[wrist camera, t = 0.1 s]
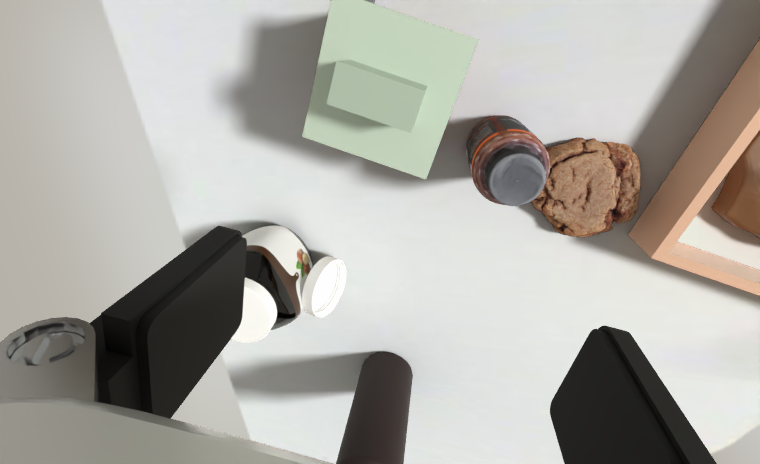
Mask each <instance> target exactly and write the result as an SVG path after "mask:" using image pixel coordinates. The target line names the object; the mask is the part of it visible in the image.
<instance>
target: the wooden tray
mask: <svg viewBox="0 0 760 464" xmlns="http://www.w3.org/2000/svg"><path fill="white" fill-rule="evenodd" d="M759 130H760V39H759V41H758V42H757V44H756V45H755V47H754V48H753V50H752V51H751V53H750V54H749V56H748V57H747V59H746V60H745V62H744V63H743V65H742V66H741V67H740V69H739V70H738V72H737V73H736V75H735V76H734V78H733V79H732V81H731V82H730V84H729V85H728V87H727V88H726V90H725V91H724V93H723V94H722V96H721V97H720V99H719V100H718V102H717V103H716V105H715V106H714V108H713V109H712V111H711V112H710V114H709V115H708V117H707V118H706V120H705V121H704V123H703V124H702V125H701V127H700V128H699V130H698V131H697V133H696V134H695V136H694V137H693V139H692V140H691V142H690V143H689V145H688V146H687V148H686V149H685V151H684V152H683V154H682V155H681V157H680V158H679V160H678V161H677V163H676V164H675V166H674V167H673V169H672V170H671V172H670V173H669V175H668V176H667V178H666V179H665V181H664V182H663V183H662V185H661V186H660V188H659V189H658V191H657V192H656V194H655V195H654V197H653V198H652V200H651V201H650V203H649V204H648V206H647V207H646V209H645V210H644V212H643V213H642V215H641V216H640V218H639V219H638V221H637V222H636V224H635V225H634V227H633V228H632V230H631V231H630V233H629V234H628V236H629V237H630V238H631V239H632V240H633V241H634V242H635V243H636V244H637V245H638V246H639V247H640V248H641V249H642V250H643V251H644V252H645V253H646V254H647V255H648V256H649V257H650V258H652V259H655V260H658V261H661V262H663V263H666V264H669V265H672V266H675V267H678V268H681V269H684V270H687V271H689V272H692V273H695V274H698V275H701V276H704V277H707V278H710V279H713V280H715V281H718V282H721V283H724V284H727V285H730V286H733V287H736V288H739V289H741V290H744V291H747V292H750V293H753V294H756V295H759V296H760V270H758V269H755V268H752V267H749V266H746V265H743V264H741V263H738V262H735V261H732V260H729V259H726V258H723V257H720V256H717V255H715V254H712V253H709V252H706V251H703V250H700V249H697V248H694V247H691V246H688V245H686V244H683V243H680V242H677V240H678V239H679V238H680V236H681V235H682V234H683V232H684V231H685V230H686V228H687V227H688V226H689V224H690V223H691V221H692V220H693V219H694V217H695V216H696V215H697V213H698V212H699V211H700V209H701V208H702V207H703V205H704V204H705V203H706V201H707V200H708V199H709V197H710V196H711V195H712V193H713V192H714V191H715V189H716V188H717V187H718V185H719V184H720V182H721V181H722V180H723V178H724V177H725V176H726V174H727V173H728V172H729V170H730V169H731V168H732V166H733V165H734V164H735V162H736V161H737V160H738V158H739V157H740V156H741V154H742V153H743V152H744V150H745V149H746V147H747V146H748V145H749V143H750V142H751V141H752V139H753V138H754V137H755V135H756V134H757V133H758V131H759Z"/></svg>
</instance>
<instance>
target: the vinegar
mask: <svg viewBox="0 0 760 464" xmlns="http://www.w3.org/2000/svg"><path fill="white" fill-rule="evenodd" d="M412 376H413V375H412V370H411V367H410V366H409V364H408V363H407V362H406V361H405V360H404V359H403V358H402V357H400V356H398V355H396V354H392V353H387V352H383V353H376V354H373V355H371V356H370V357H368V358H367V359H366V360H365V362H364V364H363V365H362V369H361V373H360V377H359V380H358V384H357V388H356V391H355V395H354V399H353V403H352V406H351V410H350V414H349V418H348V421H347V425H346V429H345V433H344V436H343V440H342V444H341V447H340V451H339V455H338V459H337V462H336V464H403V462H404V452H405V443H406V433H407V424H408V414H409V405H410V395H411V385H412Z"/></svg>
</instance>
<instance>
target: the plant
mask: <svg viewBox="0 0 760 464" xmlns="http://www.w3.org/2000/svg"><path fill="white" fill-rule="evenodd" d="M712 209H713V210H714V211H715V212H716V213H718V214H719V215H720V216H721V217H722V219H724V220H725V221H727V222H728V223H730V224H732V225H734V226H735V227H737V228H740V229H742V230H745V231H748V232H751V233H753V234H754V235H755V236H757V237H759V238H760V130H759V131H758V133H757V134H756V135H755V137H754V138H753V139H752V141H751V142H750V143H749V145H748V146H747V147H746V149H745V150H744V152H743V153H742V154H741V156H740V157H739V158H738V160H737V161H736V162H735V164H734V165H733V166H732V168H731V169H730V170H729V173H728V176H727V179H726V181H725V184H724V186H723V188H722V190H721V193H720V195H719V197H718V198H717V200H716V201H715V203H714V204H713V206H712Z"/></svg>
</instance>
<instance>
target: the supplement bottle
mask: <svg viewBox="0 0 760 464" xmlns="http://www.w3.org/2000/svg"><path fill="white" fill-rule="evenodd" d="M466 153H467V158H468V162H469V166H470V170H471V174H472V177H473V181H474V184H475V186H476V188H477V189H478V190H479V192H480V193H481V194H482V195H483V196H484V197H485V198H486V199H488V200H490V201H492V202H494V203H498V204H502V205H509V206H521V205H524V204H527V203H529V202H531V201H533V200H534V199H535V198H536V197H538V195H539V194H540V193H541V191H542V189H543V187H544V186H545V183H546V181H547V178H548V175H549V172H550V159H549V154H548V152H547V150H546V148H545V146H544V145H543V144H542V142H541V141H540V140H539V139H538V138H537V137H536V136H535V135H534V134H533V133H532V132H531V131H529V130H528V129H527V128H526V127H525V126H524V125H523V124H522V123H521V122H519V121H518V120H516V119H514V118H512V117H509V116H493V117H489V118H487V119H485V120H483V121H481V122H480V123H479V124H478V125H476V126H475V128H474V129H473V130H472V132H471V133H470V135H469V137H468V140H467V146H466Z"/></svg>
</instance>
